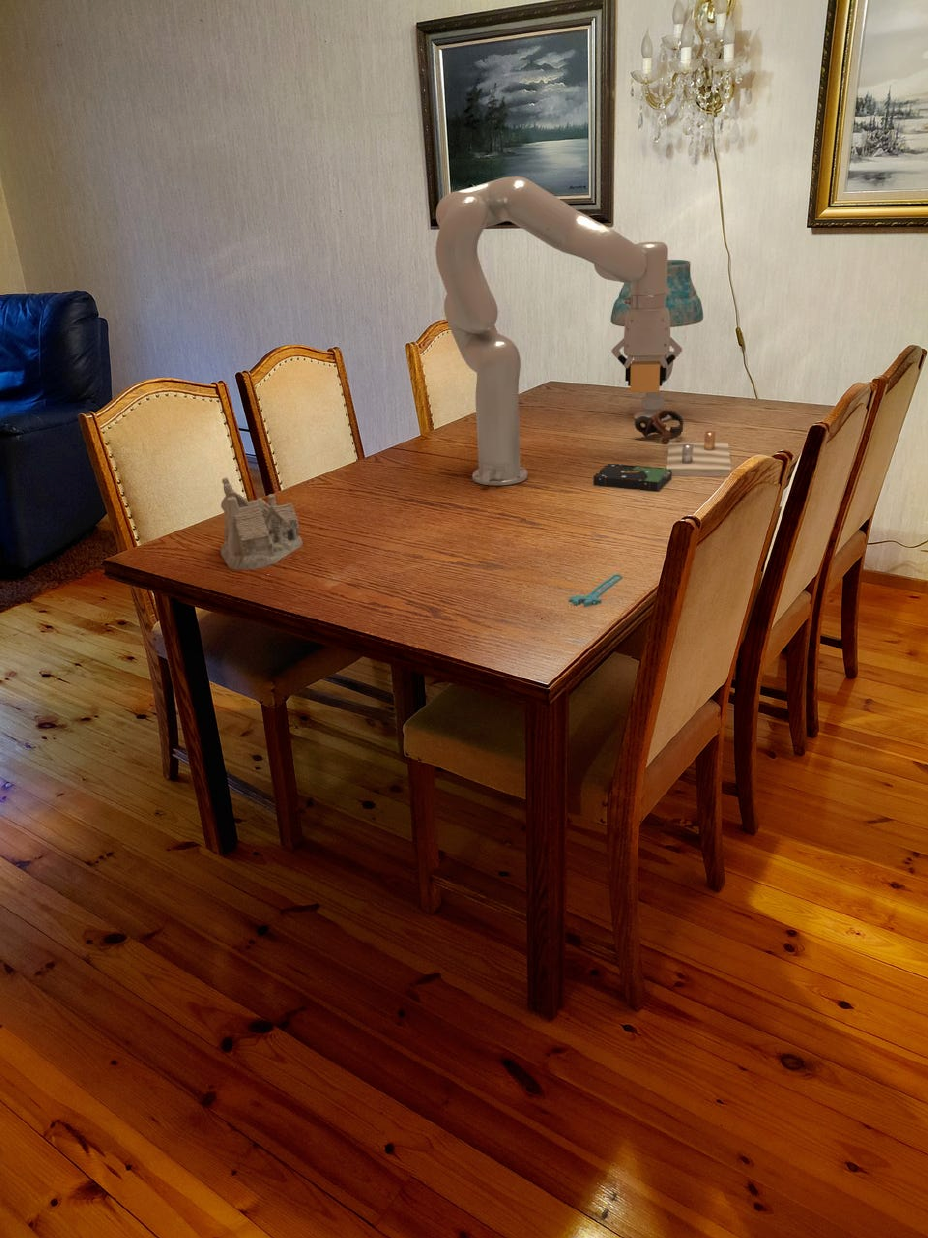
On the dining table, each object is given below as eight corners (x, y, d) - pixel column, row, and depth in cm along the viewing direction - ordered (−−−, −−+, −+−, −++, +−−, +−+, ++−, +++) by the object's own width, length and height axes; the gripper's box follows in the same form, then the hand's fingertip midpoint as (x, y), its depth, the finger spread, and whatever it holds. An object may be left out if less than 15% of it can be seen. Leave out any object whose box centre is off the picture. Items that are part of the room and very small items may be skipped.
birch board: (730, 476, 202) (731, 469, 201) (665, 475, 205) (666, 468, 204) (727, 449, 221) (728, 443, 220) (668, 448, 224) (668, 442, 223)
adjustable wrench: (592, 605, 144) (565, 598, 147) (592, 610, 145) (565, 604, 148) (632, 574, 155) (605, 569, 157) (632, 580, 155) (605, 574, 158)
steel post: (692, 463, 207) (693, 446, 205) (681, 463, 207) (682, 446, 206) (692, 460, 209) (693, 443, 207) (681, 460, 209) (682, 443, 208)
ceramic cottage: (224, 573, 166) (215, 492, 160) (219, 546, 181) (211, 471, 175) (310, 564, 170) (305, 485, 164) (299, 539, 185) (293, 465, 179)
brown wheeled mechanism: (672, 434, 238) (684, 409, 232) (675, 458, 232) (688, 434, 226) (628, 425, 236) (639, 400, 230) (630, 450, 231) (642, 425, 224)
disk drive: (592, 488, 201) (659, 493, 195) (592, 475, 200) (659, 481, 194) (607, 474, 210) (672, 479, 203) (607, 462, 208) (672, 467, 202)
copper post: (714, 450, 215) (715, 433, 214) (704, 450, 216) (705, 433, 214) (714, 447, 217) (715, 431, 216) (703, 447, 218) (704, 431, 216)
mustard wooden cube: (658, 391, 207) (660, 364, 204) (630, 392, 208) (630, 365, 206) (659, 385, 213) (660, 359, 210) (631, 386, 214) (632, 359, 211)
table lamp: (604, 410, 263) (606, 261, 245) (688, 406, 261) (696, 256, 244) (613, 431, 241) (616, 269, 224) (705, 427, 240) (715, 264, 223)
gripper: (607, 305, 201) (605, 388, 209) (688, 303, 197) (684, 387, 205) (610, 301, 207) (608, 381, 215) (688, 299, 204) (684, 380, 211)
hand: (645, 383), depth 210 cm, fingers closed on mustard wooden cube, 6 cm apart
